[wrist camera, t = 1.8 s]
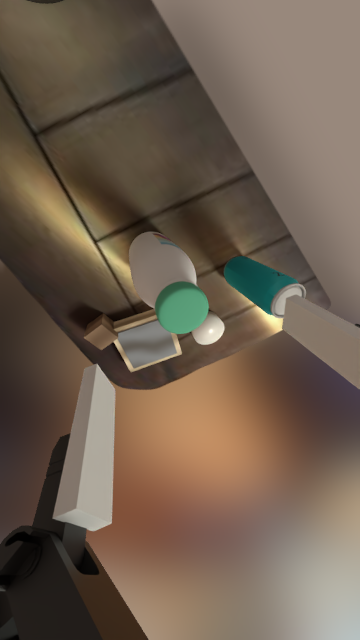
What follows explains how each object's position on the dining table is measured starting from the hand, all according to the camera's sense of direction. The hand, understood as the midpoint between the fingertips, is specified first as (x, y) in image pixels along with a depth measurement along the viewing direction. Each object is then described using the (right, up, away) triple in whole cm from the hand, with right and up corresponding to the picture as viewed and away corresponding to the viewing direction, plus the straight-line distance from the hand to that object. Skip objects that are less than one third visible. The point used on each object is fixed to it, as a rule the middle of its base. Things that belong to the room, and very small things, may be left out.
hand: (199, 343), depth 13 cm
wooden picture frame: (-8, -2, +28) cm, 29 cm away
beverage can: (+9, +12, +25) cm, 29 cm away
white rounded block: (+4, +1, +30) cm, 30 cm away
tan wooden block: (-16, 0, +24) cm, 29 cm away
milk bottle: (-6, +13, +19) cm, 24 cm away
